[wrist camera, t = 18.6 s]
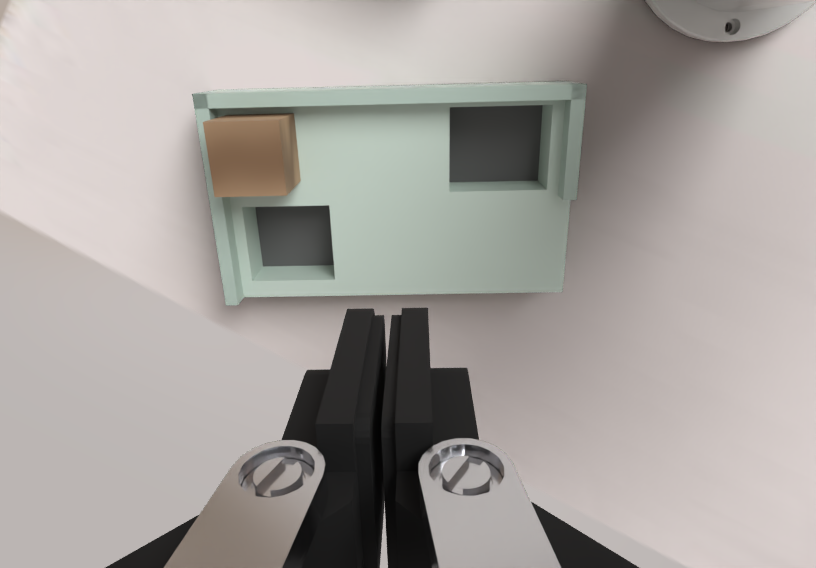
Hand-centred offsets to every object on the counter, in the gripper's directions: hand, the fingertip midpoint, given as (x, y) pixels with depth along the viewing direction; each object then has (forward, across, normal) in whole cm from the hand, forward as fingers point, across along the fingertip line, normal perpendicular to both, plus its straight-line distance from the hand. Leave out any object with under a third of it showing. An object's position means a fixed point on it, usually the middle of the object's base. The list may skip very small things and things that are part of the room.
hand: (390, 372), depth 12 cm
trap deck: (+27, +1, +2) cm, 27 cm away
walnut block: (+24, +9, -1) cm, 26 cm away
